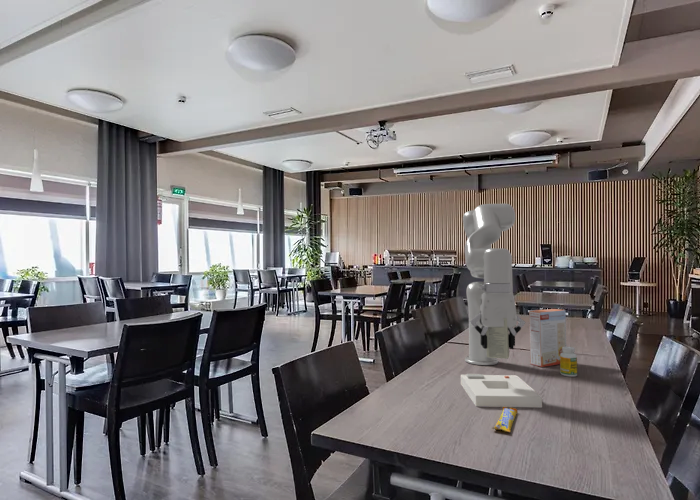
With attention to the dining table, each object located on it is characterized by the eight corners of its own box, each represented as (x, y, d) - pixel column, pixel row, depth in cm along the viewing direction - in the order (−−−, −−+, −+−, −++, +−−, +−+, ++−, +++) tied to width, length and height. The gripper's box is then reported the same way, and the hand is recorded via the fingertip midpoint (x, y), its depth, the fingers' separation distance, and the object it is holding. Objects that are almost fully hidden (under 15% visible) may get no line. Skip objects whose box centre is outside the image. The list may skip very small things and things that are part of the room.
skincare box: (509, 356, 135) (509, 316, 135) (508, 359, 131) (507, 318, 131) (487, 354, 137) (487, 315, 138) (485, 357, 133) (485, 316, 134)
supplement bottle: (565, 372, 160) (565, 345, 160) (580, 375, 156) (580, 348, 156) (557, 374, 157) (556, 347, 157) (571, 377, 153) (571, 349, 153)
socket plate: (460, 383, 146) (460, 372, 146) (516, 384, 145) (516, 373, 145) (475, 406, 124) (475, 393, 124) (542, 407, 123) (541, 394, 123)
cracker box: (554, 360, 178) (553, 308, 178) (567, 363, 173) (566, 309, 173) (528, 364, 172) (528, 310, 172) (541, 367, 167) (541, 311, 167)
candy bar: (502, 411, 121) (502, 404, 121) (518, 414, 119) (518, 407, 119) (491, 433, 106) (491, 426, 106) (509, 437, 104) (509, 429, 104)
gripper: (470, 289, 131) (471, 350, 131) (530, 290, 130) (531, 350, 130) (465, 288, 139) (466, 345, 138) (522, 288, 138) (522, 346, 137)
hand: (497, 347), depth 134 cm, fingers closed on skincare box, 7 cm apart
